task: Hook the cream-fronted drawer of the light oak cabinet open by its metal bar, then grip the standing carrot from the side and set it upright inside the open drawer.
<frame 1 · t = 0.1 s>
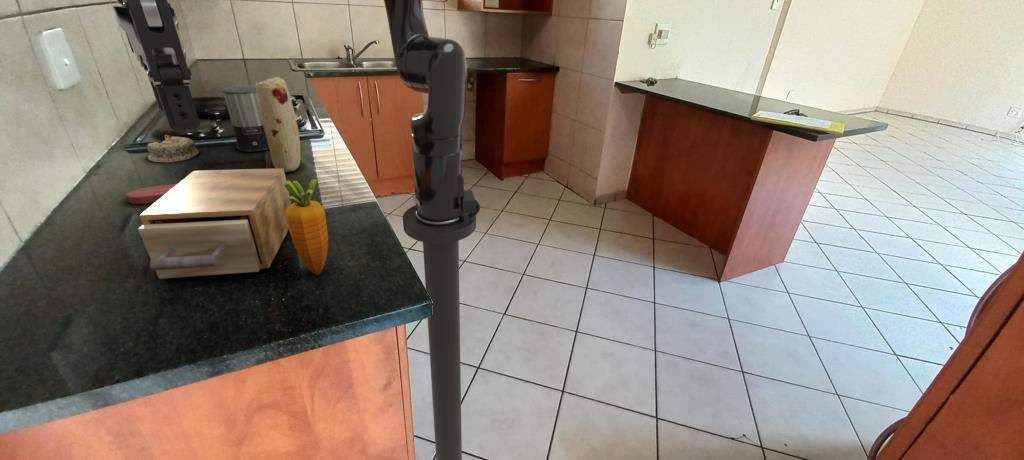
hand: (179, 118, 41), 25 cm above the counter, tool pointing down, fingers open, 8 cm apart
food model: (289, 169, 99), on the counter
cake: (174, 156, 102), on the counter
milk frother: (264, 143, 114), on the counter
cabinet: (237, 243, 69), on the counter
popsicle: (178, 196, 83), on the counter
drawer: (216, 232, 62), point 5 cm above the counter, slide at 1.0 cm
carrot: (317, 275, 62), on the counter
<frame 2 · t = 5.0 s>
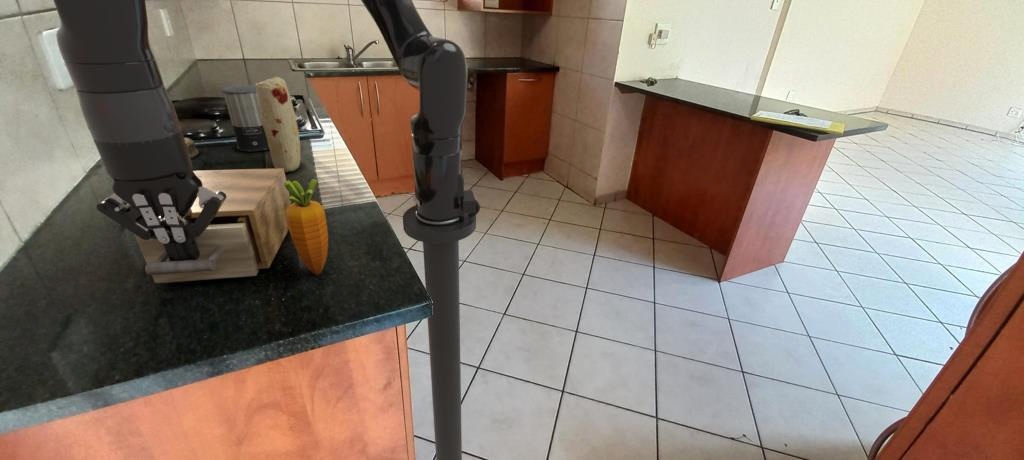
hand: (187, 264, 54), 5 cm above the counter, tool pointing down, fingers closed
drawer: (213, 236, 61), point 5 cm above the counter, slide at 2.1 cm
everything else where it was.
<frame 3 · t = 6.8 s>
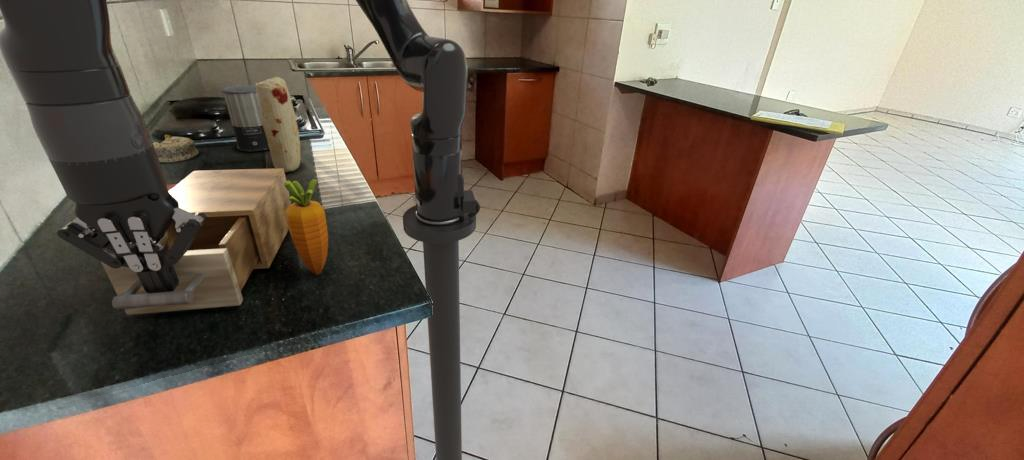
hand: (165, 292, 49), 5 cm above the counter, tool pointing down, fingers closed
drawer: (193, 261, 55), point 5 cm above the counter, slide at 8.7 cm
everything else where it was.
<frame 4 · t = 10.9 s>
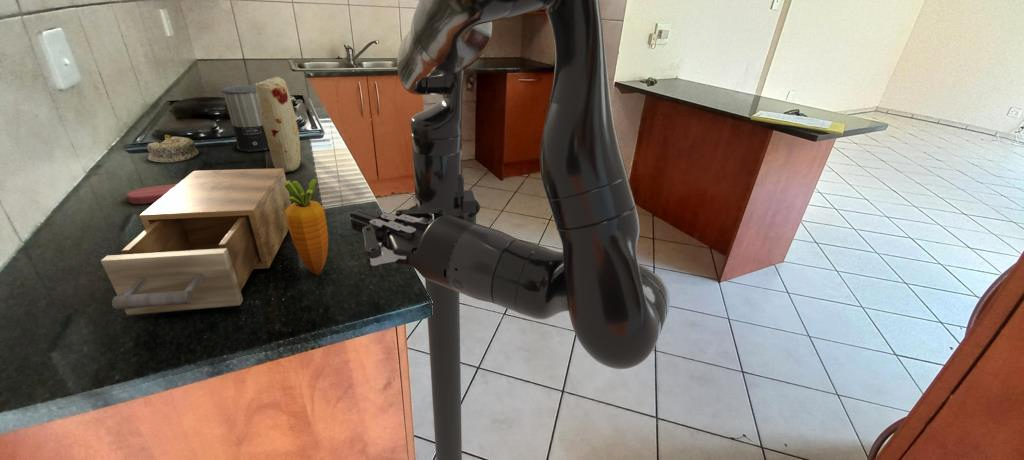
hand: (355, 218, 52), 12 cm above the counter, tool horizontal, fingers closed
nothing on the counter moved.
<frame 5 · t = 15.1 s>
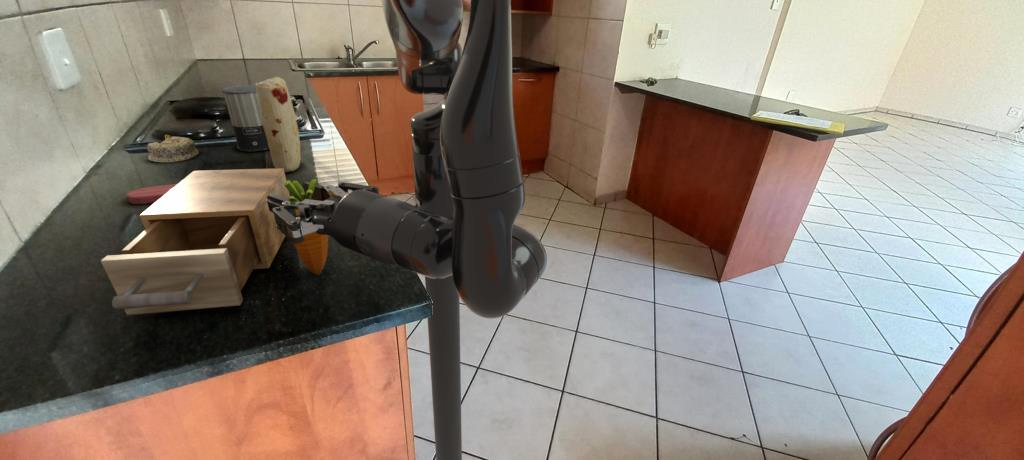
hand: (289, 195, 57), 12 cm above the counter, tool horizontal, fingers closed on carrot, 4 cm apart
carrot: (317, 275, 62), on the counter, touching gripper
everything else where it was.
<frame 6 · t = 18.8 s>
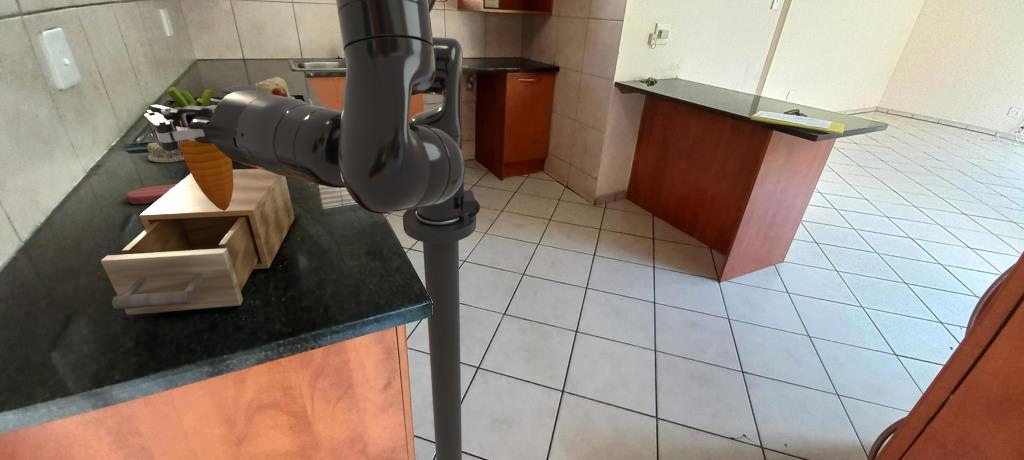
hand: (180, 110, 49), 24 cm above the counter, tool horizontal, fingers closed on carrot, 4 cm apart
carrot: (224, 211, 53), point 11 cm above the counter, touching gripper
everything else where it was.
when the fingers open (14 cm above the counter, at t = 22.6 s): carrot stays where it is, resting on drawer.
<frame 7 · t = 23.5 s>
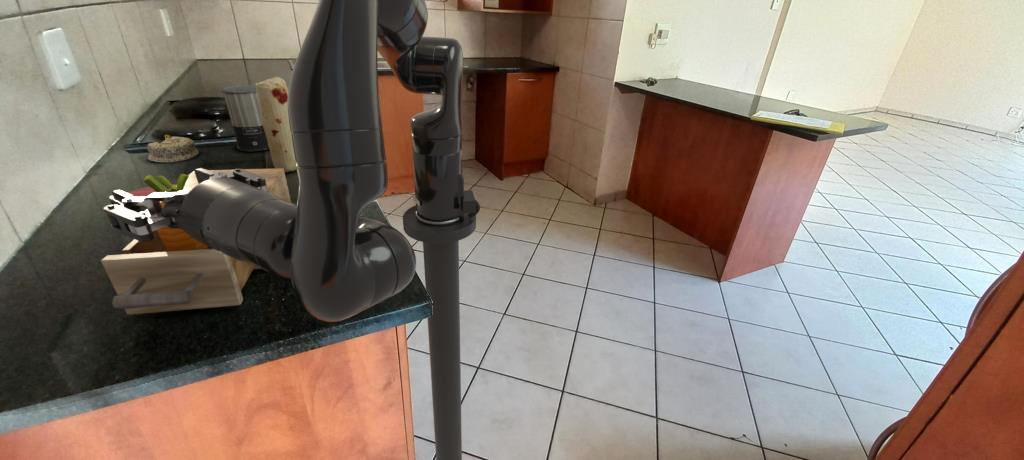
hand: (160, 186, 51), 15 cm above the counter, tool horizontal, fingers open, 8 cm apart
drawer: (193, 260, 55), point 5 cm above the counter, slide at 8.6 cm, touching carrot
carrot: (200, 280, 56), point 2 cm above the counter, touching drawer
everything else where it was.
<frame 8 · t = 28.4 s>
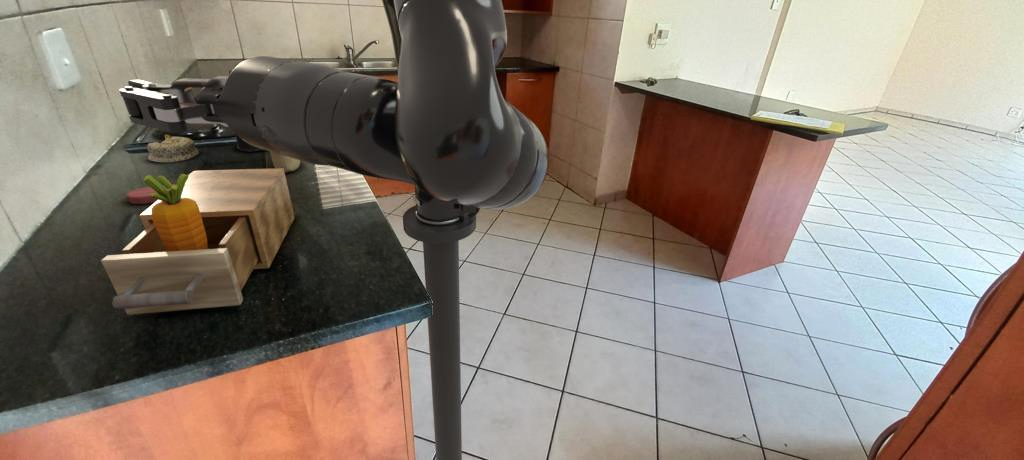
hand: (188, 86, 40), 28 cm above the counter, tool horizontal, fingers open, 8 cm apart
nothing on the counter moved.
at the end: drawer slide at 8.6 cm; carrot inside the target area in the drawer (0.2 cm from its centre), point 1.8 cm above the cabinet's base; carrot tilted 0° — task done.
